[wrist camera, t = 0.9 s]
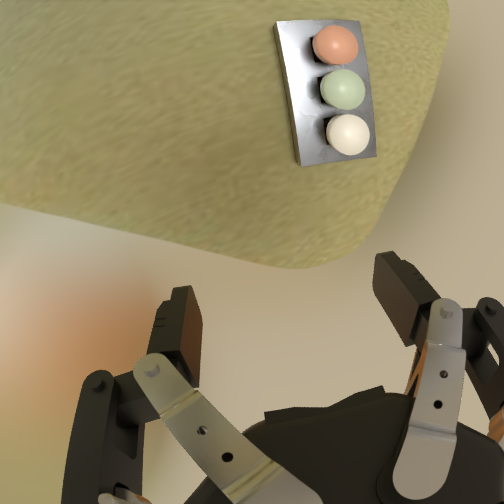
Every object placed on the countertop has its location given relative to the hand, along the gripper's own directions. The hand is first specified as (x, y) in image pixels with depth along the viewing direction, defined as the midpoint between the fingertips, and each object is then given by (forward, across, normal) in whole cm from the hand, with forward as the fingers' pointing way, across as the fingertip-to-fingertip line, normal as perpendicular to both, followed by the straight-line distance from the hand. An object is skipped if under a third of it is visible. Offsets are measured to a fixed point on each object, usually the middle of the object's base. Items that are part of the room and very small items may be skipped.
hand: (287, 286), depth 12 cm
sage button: (+20, -10, -8) cm, 24 cm away
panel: (+22, -10, -8) cm, 25 cm away
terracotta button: (+20, -9, -12) cm, 25 cm away
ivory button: (+20, -10, -3) cm, 23 cm away
